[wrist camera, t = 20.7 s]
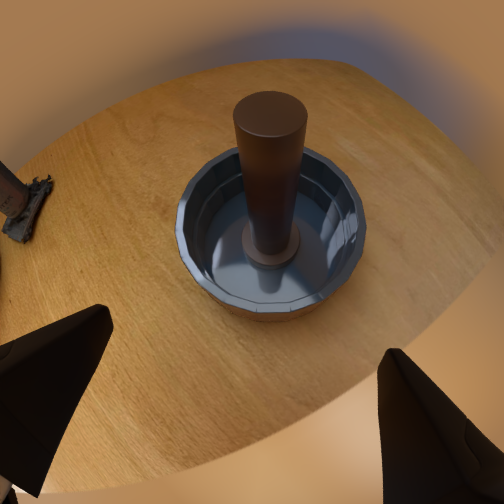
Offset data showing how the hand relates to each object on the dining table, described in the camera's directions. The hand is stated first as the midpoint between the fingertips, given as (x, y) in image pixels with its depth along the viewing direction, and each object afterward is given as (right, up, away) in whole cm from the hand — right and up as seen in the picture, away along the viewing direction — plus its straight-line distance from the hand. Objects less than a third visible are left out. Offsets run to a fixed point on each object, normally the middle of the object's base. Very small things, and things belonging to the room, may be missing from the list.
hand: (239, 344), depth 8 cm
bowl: (+2, +3, +15) cm, 15 cm away
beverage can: (-28, +7, +18) cm, 34 cm away
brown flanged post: (+2, +3, +14) cm, 14 cm away
